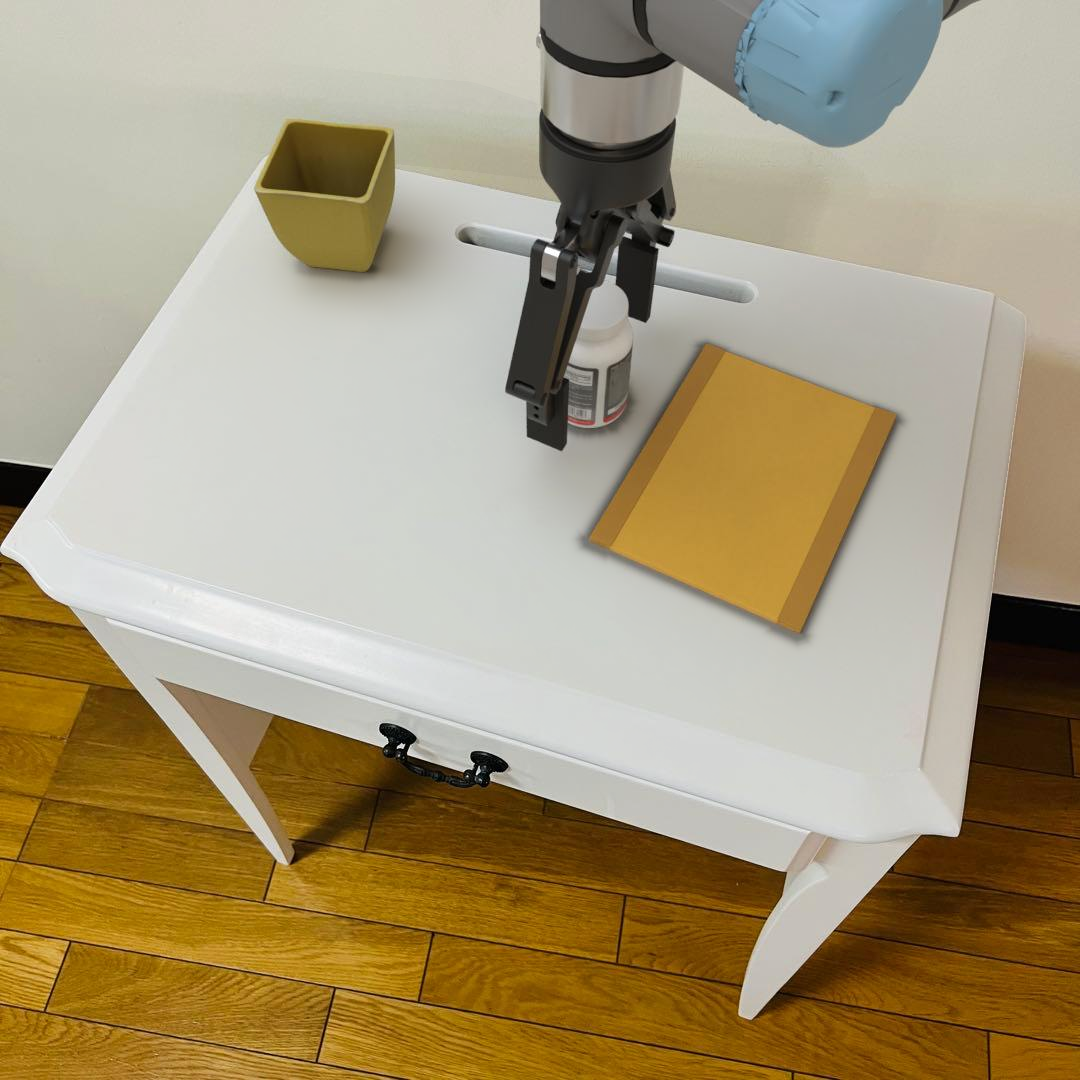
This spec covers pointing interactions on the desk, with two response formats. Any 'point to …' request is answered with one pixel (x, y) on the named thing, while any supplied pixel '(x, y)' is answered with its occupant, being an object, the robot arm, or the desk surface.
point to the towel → (747, 485)
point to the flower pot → (329, 191)
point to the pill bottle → (601, 360)
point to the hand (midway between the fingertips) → (591, 374)
